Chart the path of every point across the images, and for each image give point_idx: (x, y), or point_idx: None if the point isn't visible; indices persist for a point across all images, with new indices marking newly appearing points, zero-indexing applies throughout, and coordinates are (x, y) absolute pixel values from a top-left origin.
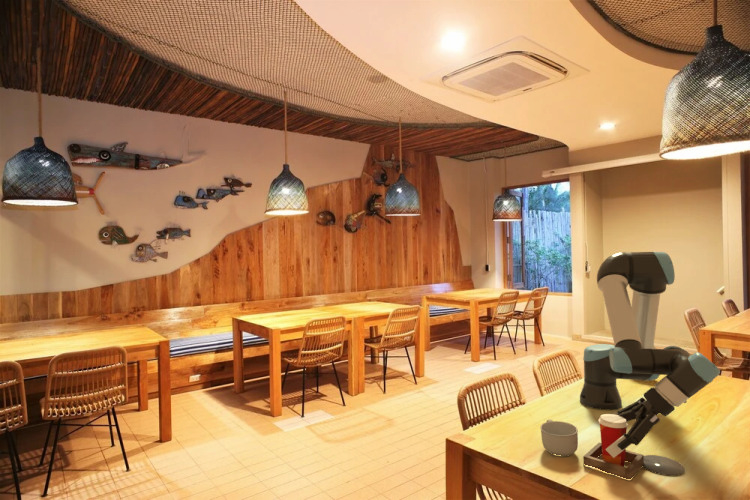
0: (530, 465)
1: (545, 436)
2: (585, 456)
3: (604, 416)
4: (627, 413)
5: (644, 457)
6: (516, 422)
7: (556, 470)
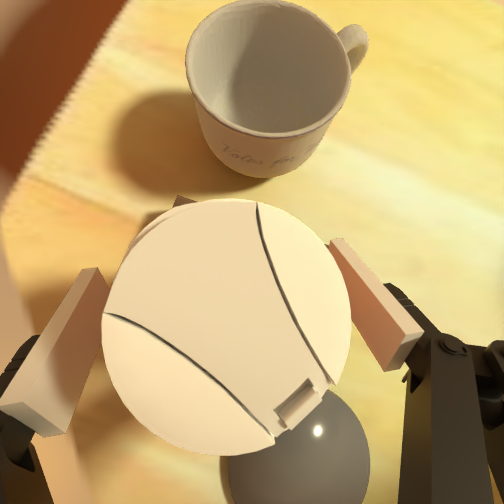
0: (128, 66)
1: (212, 39)
2: (177, 202)
3: (252, 236)
4: (428, 473)
5: (329, 402)
6: (417, 15)
7: (123, 135)
